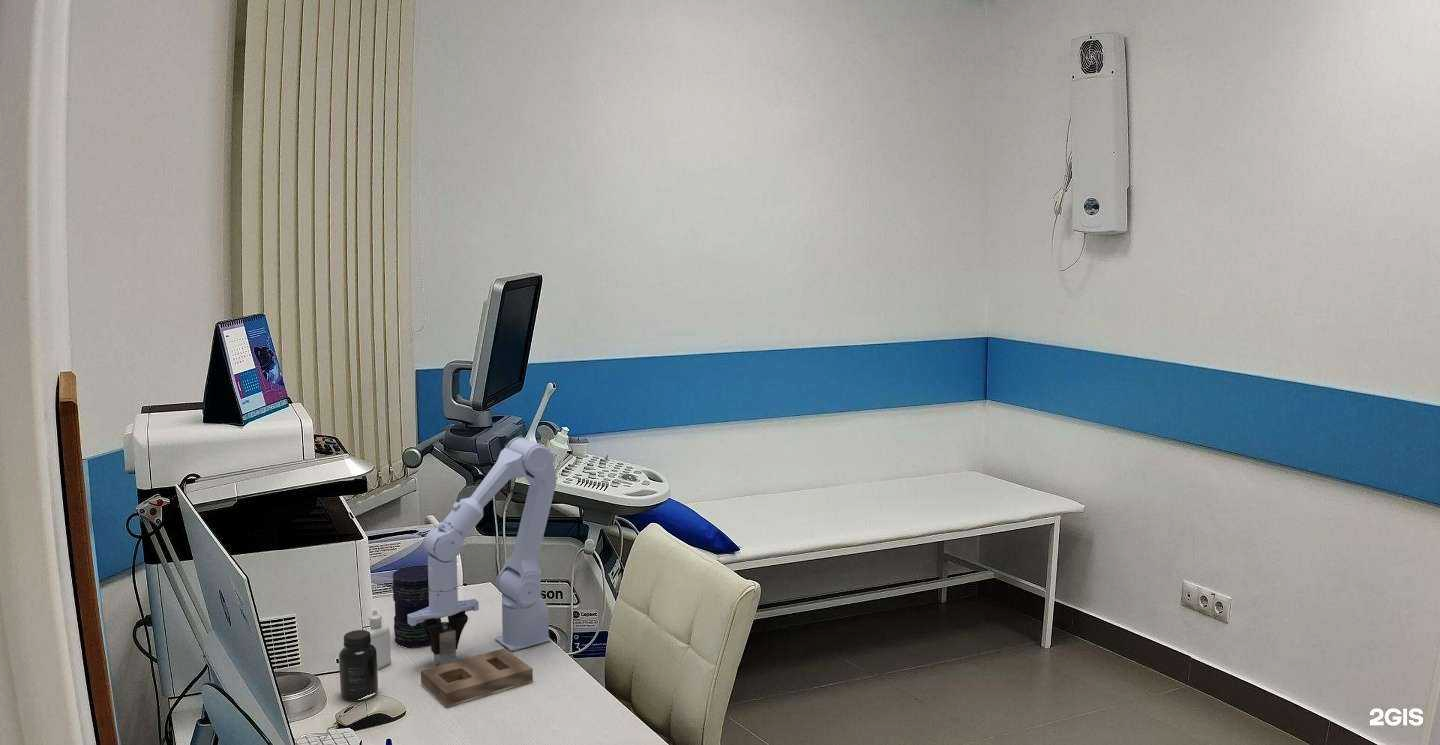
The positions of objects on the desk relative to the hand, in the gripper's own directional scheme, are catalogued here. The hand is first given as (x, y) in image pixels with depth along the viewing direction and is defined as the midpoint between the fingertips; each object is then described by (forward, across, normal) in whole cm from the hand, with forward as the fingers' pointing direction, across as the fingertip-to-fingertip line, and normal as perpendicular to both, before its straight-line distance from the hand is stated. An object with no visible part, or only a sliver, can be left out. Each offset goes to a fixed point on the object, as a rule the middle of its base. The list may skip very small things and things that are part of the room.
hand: (444, 650), depth 212 cm
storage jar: (+3, 0, -14) cm, 14 cm away
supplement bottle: (+3, +19, +4) cm, 20 cm away
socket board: (+2, -1, +13) cm, 13 cm away
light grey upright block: (+2, 0, 0) cm, 2 cm away
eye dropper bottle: (+3, +12, -6) cm, 14 cm away
